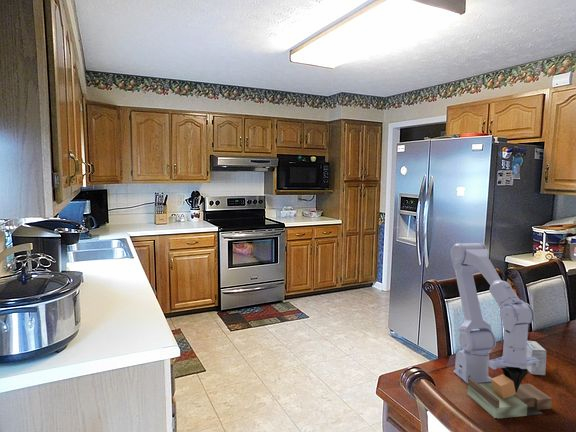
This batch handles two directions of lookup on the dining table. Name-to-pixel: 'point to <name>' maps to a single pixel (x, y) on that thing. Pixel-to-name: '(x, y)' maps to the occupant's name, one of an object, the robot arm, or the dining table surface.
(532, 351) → the medicine box
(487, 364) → the robot arm
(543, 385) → the dining table surface
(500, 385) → the orange block
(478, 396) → the board
